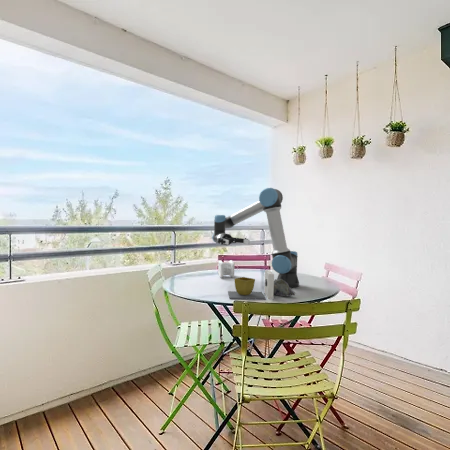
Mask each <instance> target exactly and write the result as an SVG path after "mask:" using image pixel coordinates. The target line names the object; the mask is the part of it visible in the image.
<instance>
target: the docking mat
mask: <svg viewBox="0 0 450 450" xmlns="http://www.w3.org/2000/svg"><path fill="white" fill-rule="evenodd" d="M227 293H228V299H229V300H262V301H263V300H266V299H267V297H266V295H265V294H264V293H263V291H252V292H251V294H249V295H241V294H238V293H237V291H236V290H232V291H231V290H228V291H227Z"/></svg>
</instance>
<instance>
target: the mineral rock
mask: <svg viewBox="0 0 450 450" xmlns="http://www.w3.org/2000/svg"><path fill="white" fill-rule="evenodd" d="M295 295H296V293H295V292H294V290H293V289H292V287H289V285H288V283H287V282H285V281H284V280H283V279H279V280H277V278H274V293H273V296H281V297H293V296H294V297H295Z"/></svg>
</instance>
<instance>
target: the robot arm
mask: <svg viewBox="0 0 450 450" xmlns="http://www.w3.org/2000/svg"><path fill="white" fill-rule="evenodd" d="M283 196H284V195H283V193H282V192H281V191H280V190H279V189H276V188H274V187H266V188H264V189H262V190H261V191H260V193H259V195H258V200H257V201H255V202H254V203H252V204H249V205H247V206H245V207H244V208H242V209H240V210H238V211H236V212H234V213H232V214H231V215H228V216H226V215H225V214H216V215H214V219H213V220H214V221H213V222H214V225H213V228H214V229H213V233H212V235H211V239H212V242H214V243H216V244H220V245H221V246H229V245H231V244H238V243H239V244H240V243H241V244H246V245H250V242H251V241H250V239H249V238H247V237H244V238H241V237H233V236H232V235H231V234H229V233H226V229H231V228H234V226H236V225H238V224H240V223H241V222H244V221H245V220H247V219H250V218H252V217H254V216H256V215H257V214H261V213H262V212H264V213H265V214H266V219H267V223H268V229H269V233H270V235H269V236H270V240H271V243H272V244H271V245H272V248H273V251H272V252H271V257H272V261H271V267H272V269H273V271H275V272H276V273H277V274H278V276H277V277H276V279H277V280H279V279H283V280H284V281H285V282H287V283H288V285H289V287H290V288H298V287H300V282H299V277H298V252H297V251H294V250H293V251H292V250H290V248H288V246H287V241H286V236H285V232H284V231H285V230H284V224H283V221H282V215H281V209H282V202H283V199H284V197H283ZM297 286H298V287H297Z"/></svg>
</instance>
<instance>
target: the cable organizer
mask: <svg viewBox="0 0 450 450" xmlns="http://www.w3.org/2000/svg"><path fill="white" fill-rule="evenodd" d="M217 264H218V265H217V267H218V270H217V271H218V273H217V274H218V276H219V277H220V279H223V278H224V276H229V277H230V278H231V279H234V278H235V261H234V260H232V259H231V260H229V261H228V262H223V261H222V260H218V262H217Z"/></svg>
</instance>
